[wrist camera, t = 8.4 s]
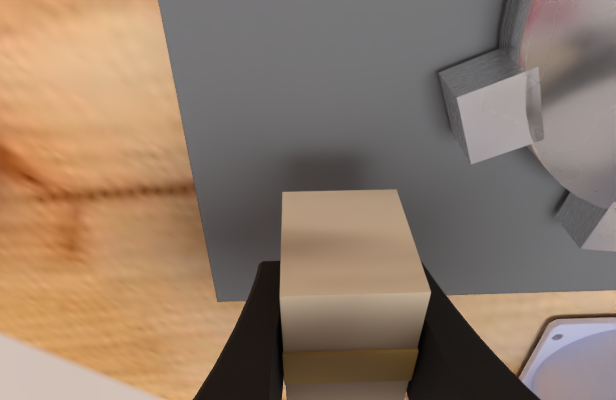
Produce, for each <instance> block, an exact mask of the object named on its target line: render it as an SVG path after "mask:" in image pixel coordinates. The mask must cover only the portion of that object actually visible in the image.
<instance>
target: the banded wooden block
mask: <svg viewBox="0 0 616 400" xmlns="http://www.w3.org/2000/svg"><path fill="white" fill-rule="evenodd" d="M430 295H431V290H430V287H429V284H428V281H427V278H426V275H425V272H424V269H423V266H422V264H421V261H420V258H419V255H418V252H417V249H416V246H415V243H414V240H413V237H412V234H411V231H410V228H409V225H408V222H407V219H406V216H405V213H404V210H403V207H402V204H401V201H400V198H399V195H398V192H397V189H389V190H345V191H301V192H282V228H281V264H280V310H281V324H282V339H283V369H284V383H285V385H286V397H287V400H404V398H405V394H406V390H407V386H408V382H409V381H411V379H412V375H413V371H414V367H415V363H416V360H417V356H418V352H419V351H418V343H419V339H420V335H421V331H422V327H423V323H424V319H425V315H426V311H427V307H428V303H429V299H430Z"/></svg>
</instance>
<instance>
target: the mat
mask: <svg viewBox="0 0 616 400" xmlns="http://www.w3.org/2000/svg"><path fill="white" fill-rule="evenodd" d="M158 2H159V7H160V12H161V17H162V22H163V27H164V32H165V37H166V42H167V47H168V52H169V57H170V63H171V68H172V73H173V78H174V83H175V88H176V93H177V98H178V103H179V108H180V113H181V118H182V124H183V129H184V134H185V139H186V144H187V149H188V154H189V159H190V164H191V169H192V174H193V180H194V185H195V190H196V195H197V200H198V205H199V210H200V215H201V220H202V225H203V230H204V235H205V241H206V246H207V251H208V256H209V261H210V266H211V271H212V276H213V281H214V286H215V291H216V297H217V302H227V301H247V299H248V296H249V294H250V291H251V288H252V286H253V283H254V280H255V277H256V273H257V270H258V265H259V264H260V263H261V262H262V261H281V228H282V192H301V191H345V190H389V189H397V192H398V195H399V198H400V201H401V204H402V207H403V210H404V213H405V216H406V219H407V222H408V225H409V228H410V231H411V234H412V237H413V240H414V243H415V246H416V249H417V252H418V255H419V258H420V260H421V261H422V262H423V264H424V265H425V267H426V268H427V270H428V271H429V272H430V274H431V275H432V277H433V278H434V280H435V281H436V282H437V284H438V285H439V286H440V288H441V289H442V291H443V292H444V293H445V295H467V294H501V293H535V292H569V291H604V290H616V252H615V251H601V250H587V249H580V248H579V247H578V245H577V244H576V243H575V242H574V240H573V239H572V238H571V236H570V235H569V234H568V233H567V231H566V230H565V229H564V227H563V226H562V225H561V223H560V222H559V221H558V220H557V218H556V217H555V216H556V214H557V213H558V211H559V209H560V208H561V206H562V205H563V203H564V201H565V200H566V198H567V197H568V195H569V193H570V191H569V190H567V189H566V188H564V187H563V186H562V185H561V184H560V183H559V182H558V181H557V180H556V179H555V178H554V177H553V176H552V175H551V174H550V173H549V171H548V170H547V169H546V168H545V167H544V166H543V165H542V163H541V162H540V161H539V160H538V159H537V158H536V156H535V155H534V154H533V153H532V152H531V151H530V150H529V148H528V147H527V146H524V147H521V148H518V149H515V150H512V151H509V152H506V153H503V154H501V155H498V156H495V157H492V158H489V159H486V160H483V161H480V162H477V163H474V164H470V162H469V161H468V159H467V157H466V156H465V154H464V153H463V151H462V149H461V148H460V146H459V145H458V143H457V141H456V140H455V138H454V137H453V135H452V130H451V126H450V122H449V117H448V113H447V109H446V104H445V100H444V96H443V92H442V87H441V83H440V79H439V74H438V72H441V71H443V70H446V69H448V68H451V67H454V66H456V65H459V64H461V63H464V62H466V61H469V60H471V59H474V58H476V57H479V56H482V55H484V54H487V53H489V52H492V51H494V50H497V49H499V44H500V31H501V27H502V22H503V17H504V12H505V7H506V2H507V0H158Z"/></svg>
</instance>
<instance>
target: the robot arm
mask: <svg viewBox="0 0 616 400" xmlns="http://www.w3.org/2000/svg"><path fill="white" fill-rule="evenodd" d="M420 261H421V260H420ZM280 264H281V261H262V262H261V263H260V264H259V265H258V270H257V273H256V277H255V280H254V283H253V286H252V288H251V291H250V294H249V296H248V299H247V301H246V304H245V306H244V308H243V310H242V313H241V315H240V317H239V319H238V321H237V324H236V326H235V328H234V330H233V332H232V334H231V336H230V337H229V339H228V341H227V343H226V345H225V347H224V349H223V351H222V353H221V354H220V356H219V358H218V360H217V362H216V363H215V365H214V367H213V369H212V370H211V372H210V374H209V375H208V377H207V378H206V380H205V382H204V383H203V385H202V386H201V388H200V390H199V391H198V393H197V394H196V396H195V397H194V399H193V400H282V391H283V380H284V369H283V339H282V324H281V310H280ZM421 264H422V266H423V269H424V272H425V275H426V278H427V281H428V284H429V287H430V290H431V295H430V299H429V303H428V307H427V311H426V315H425V319H424V323H423V327H422V331H421V335H420V339H419V343H418V351H419V352H418V356H417V360H416V363H415V367H414V371H413V375H412V379H411V381H409V382H408V386H407V390H406V391H407V395H408V398H409V400H616V317H606V318H574V319H556V320H554V321H552V322H550V323H549V325H548V326H547V328H546V330H545V332H544V333H543V335H542V337H541V339H540V340H539V342H538V344H537V346H536V348H535V349H534V351H533V353H532V355H531V357H530V358H529V360H528V362H527V364H526V366H525V367H524V369H523V371H522V373H521V375H520V376H519V378H518V377H517V376H516V375H515V374H514V373H513V372H511V371H510V369H509V368H508V367H507V366H506V365H505V364H504V363H503V362H502V361H501V360H500V359H499V358H498V357H497V356H496V355H495V354H494V353H493V351H492V350H491V349H490V348H489V347H488V346H487V345H486V344H485V342H484V341H483V340H482V339H481V338H480V337H479V336H478V335H477V333H476V332H475V331H474V330H473V329H472V327H471V326H470V325H469V324H468V323H467V321H466V320H465V319H464V318H463V316H462V315H461V314H460V313H459V311H458V310H457V309H456V308H455V306H454V305H453V304H452V303H451V301H450V300H449V299H448V297H447V296H446V295H445V293H444V292H443V291H442V289H441V288H440V286H439V285H438V284H437V282H436V281H435V280H434V278H433V277H432V275H431V274H430V272H429V271H428V270H427V268H426V267H425V265H424V264H423V262H422V261H421Z"/></svg>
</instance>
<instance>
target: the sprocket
mask: <svg viewBox="0 0 616 400" xmlns="http://www.w3.org/2000/svg"><path fill="white" fill-rule="evenodd" d="M438 74H439V79H440V83H441V87H442V92H443V96H444V100H445V104H446V109H447V113H448V117H449V122H450V126H451V130H452V135H453V137H454V138H455V140H456V141H457V143H458V145H459V146H460V148H461V149H462V151H463V153H464V154H465V156H466V157H467V159H468V161H469V162H470V164H474V163H477V162H480V161H483V160H486V159H489V158H492V157H495V156H498V155H501V154H503V153H506V152H509V151H512V150H515V149H518V148H521V147H524V146H527V147H528V148H529V150H530V151H531V152H532V153H533V154H534V155H535V156H536V158H537V159H538V160H539V161H540V162H541V163H542V165H543V166H544V167H545V168H546V169H547V170H548V171H549V173H550V174H551V175H552V176H553V177H554V178H555V179H556V180H557V181H558V182H559V183H560V184H561V185H562V186H563V187H564V188H566V189H567V190H569V191H570V193H569V195H568V197H567V198H566V200H565V201H564V203H563V205H562V206H561V208H560V209H559V211H558V213H557V214H556V216H555V217H556V218H557V220H558V221H559V222H560V223H561V225H562V226H563V227H564V229H565V230H566V231H567V233H568V234H569V235H570V236H571V238H572V239H573V240H574V242H575V243H576V244H577V245H578V247H579V248H580V249H587V250H601V251H615V252H616V0H507V2H506V7H505V12H504V17H503V22H502V27H501V31H500V44H499V49H497V50H494V51H492V52H489V53H487V54H484V55H482V56H479V57H476V58H474V59H471V60H469V61H466V62H464V63H461V64H459V65H456V66H454V67H451V68H448V69H446V70H443V71H441V72H438Z"/></svg>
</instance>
